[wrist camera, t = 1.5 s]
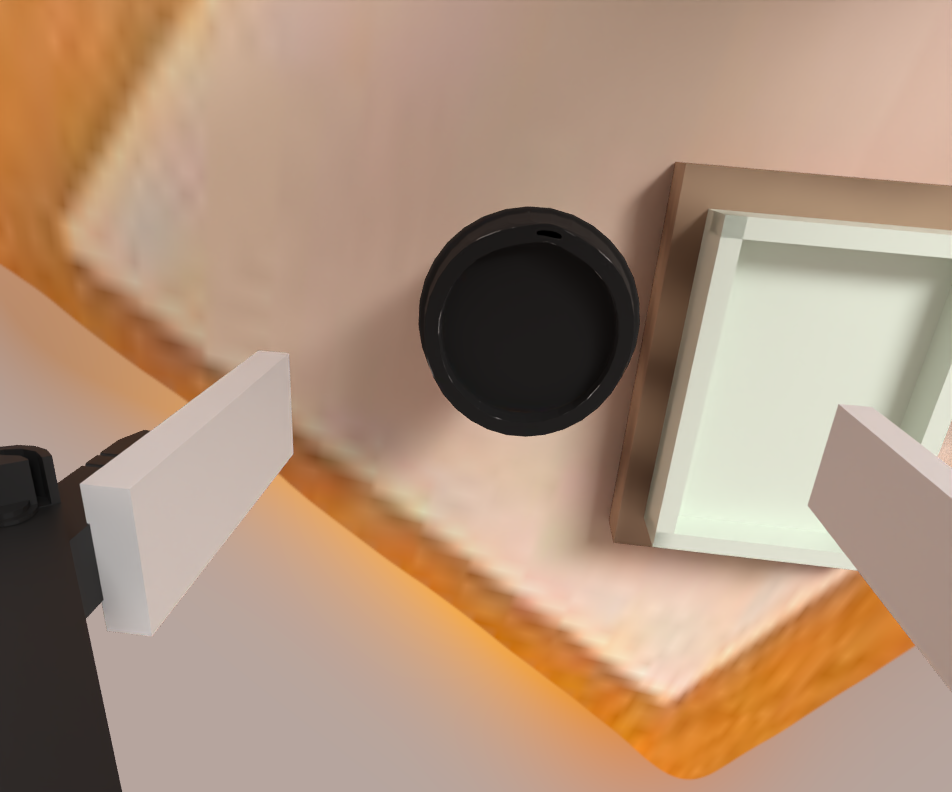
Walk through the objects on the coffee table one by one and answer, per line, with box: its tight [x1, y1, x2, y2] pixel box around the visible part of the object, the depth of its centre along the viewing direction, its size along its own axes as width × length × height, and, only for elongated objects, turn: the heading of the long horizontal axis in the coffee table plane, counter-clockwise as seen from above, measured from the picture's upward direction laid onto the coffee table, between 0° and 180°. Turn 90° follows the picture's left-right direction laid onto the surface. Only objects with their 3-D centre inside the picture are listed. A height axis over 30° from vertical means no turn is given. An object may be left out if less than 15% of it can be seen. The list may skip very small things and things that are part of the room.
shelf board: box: [609, 162, 952, 571], centre depth 36 cm, size 22×16×2 cm
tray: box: [644, 209, 952, 570], centre depth 33 cm, size 18×13×3 cm
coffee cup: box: [419, 207, 640, 437], centre depth 29 cm, size 8×8×15 cm
